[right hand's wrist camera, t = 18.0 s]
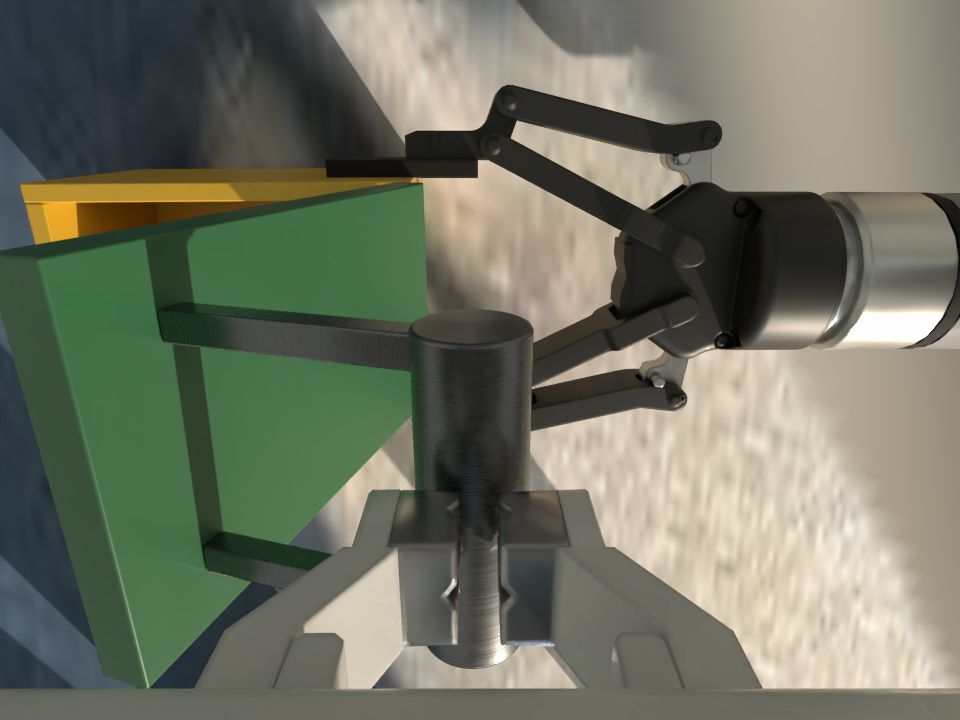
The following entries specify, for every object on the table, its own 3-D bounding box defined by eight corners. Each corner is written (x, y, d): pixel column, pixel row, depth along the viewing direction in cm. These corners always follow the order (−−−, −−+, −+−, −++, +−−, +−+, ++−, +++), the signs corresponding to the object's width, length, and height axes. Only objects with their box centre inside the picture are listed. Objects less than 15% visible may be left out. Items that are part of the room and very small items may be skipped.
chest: (170, 327, 36) (72, 396, 27) (141, 168, 33) (18, 183, 24) (425, 323, 37) (418, 388, 28) (420, 167, 34) (410, 180, 24)
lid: (102, 677, 13) (489, 799, 11) (-20, 253, 10) (491, 289, 7) (405, 393, 27) (600, 417, 25) (395, 181, 24) (617, 186, 22)
